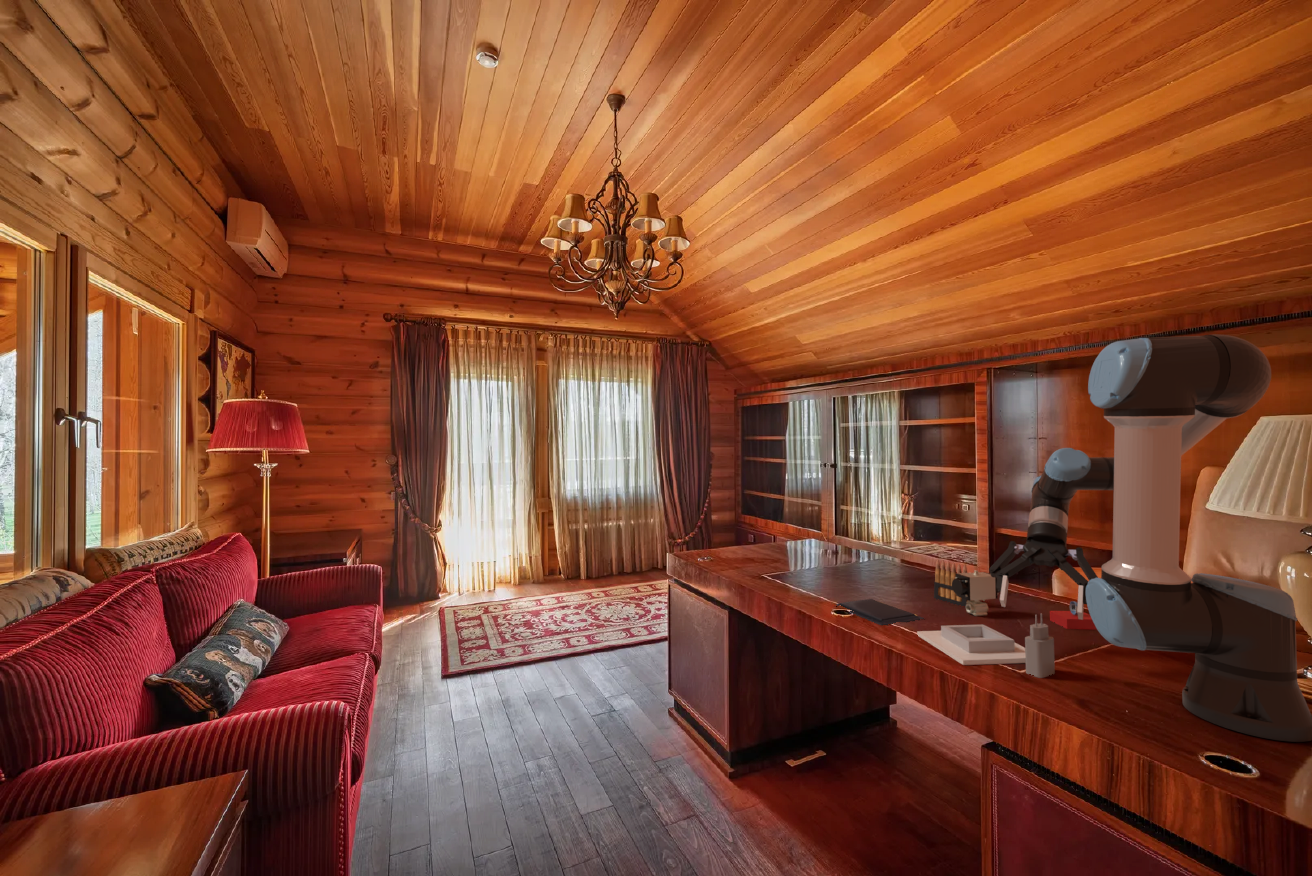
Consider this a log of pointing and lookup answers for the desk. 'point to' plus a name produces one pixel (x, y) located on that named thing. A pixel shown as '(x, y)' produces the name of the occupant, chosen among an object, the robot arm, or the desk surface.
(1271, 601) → the robot arm
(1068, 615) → the red rectangular block
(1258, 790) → the desk surface
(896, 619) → the wallet
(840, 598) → the desk surface
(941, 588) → the ammunition clip
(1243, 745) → the desk surface
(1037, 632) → the power adapter
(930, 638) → the holder plate
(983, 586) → the pneumatic valve
